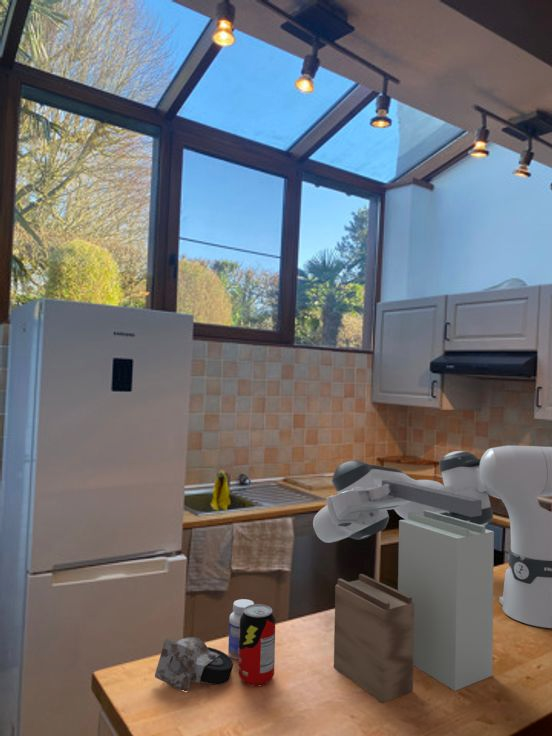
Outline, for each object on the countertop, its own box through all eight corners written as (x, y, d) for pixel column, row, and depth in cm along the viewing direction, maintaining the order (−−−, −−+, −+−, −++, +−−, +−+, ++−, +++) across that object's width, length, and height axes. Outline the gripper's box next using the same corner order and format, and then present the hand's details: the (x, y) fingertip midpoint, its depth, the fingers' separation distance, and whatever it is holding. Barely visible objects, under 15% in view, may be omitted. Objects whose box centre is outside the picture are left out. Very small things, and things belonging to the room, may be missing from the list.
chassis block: (362, 657, 104) (364, 573, 104) (412, 691, 93) (414, 596, 93) (333, 667, 100) (335, 579, 101) (382, 703, 89) (384, 604, 90)
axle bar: (391, 492, 117) (391, 479, 117) (481, 515, 97) (481, 499, 97) (381, 493, 115) (381, 480, 116) (471, 517, 96) (471, 501, 96)
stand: (432, 643, 110) (434, 509, 111) (492, 675, 98) (493, 524, 99) (396, 655, 105) (399, 514, 106) (455, 690, 93) (457, 531, 94)
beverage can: (262, 666, 100) (263, 600, 100) (281, 682, 95) (282, 612, 95) (231, 675, 96) (233, 607, 97) (249, 692, 91) (251, 620, 91)
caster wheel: (233, 685, 98) (209, 707, 89) (180, 659, 102) (152, 678, 93) (243, 648, 98) (220, 666, 89) (191, 624, 103) (163, 638, 93)
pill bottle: (237, 644, 108) (238, 595, 108) (261, 651, 105) (262, 600, 106) (222, 656, 103) (224, 605, 103) (247, 663, 101) (248, 610, 101)
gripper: (397, 516, 127) (437, 496, 117) (328, 527, 117) (365, 506, 107) (388, 491, 130) (426, 469, 120) (319, 498, 120) (355, 475, 110)
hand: (397, 486), depth 113 cm, fingers closed on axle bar, 3 cm apart
